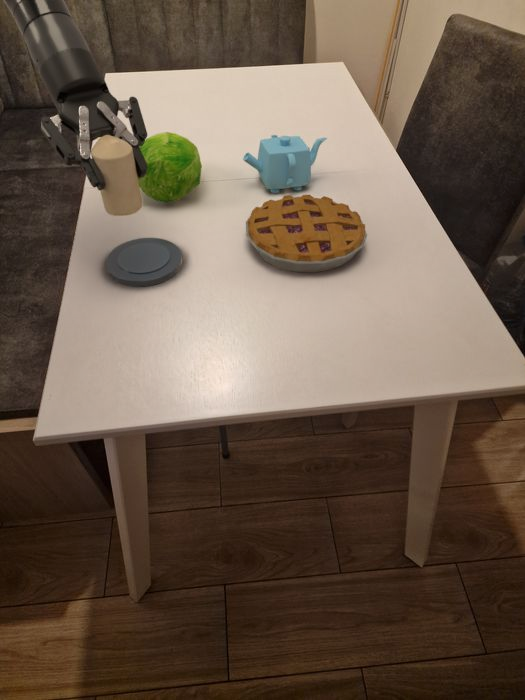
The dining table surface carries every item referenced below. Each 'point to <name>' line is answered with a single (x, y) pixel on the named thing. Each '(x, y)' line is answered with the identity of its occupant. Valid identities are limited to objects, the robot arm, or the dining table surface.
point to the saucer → (144, 262)
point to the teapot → (284, 162)
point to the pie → (305, 233)
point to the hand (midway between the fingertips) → (123, 181)
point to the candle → (117, 175)
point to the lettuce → (169, 167)
